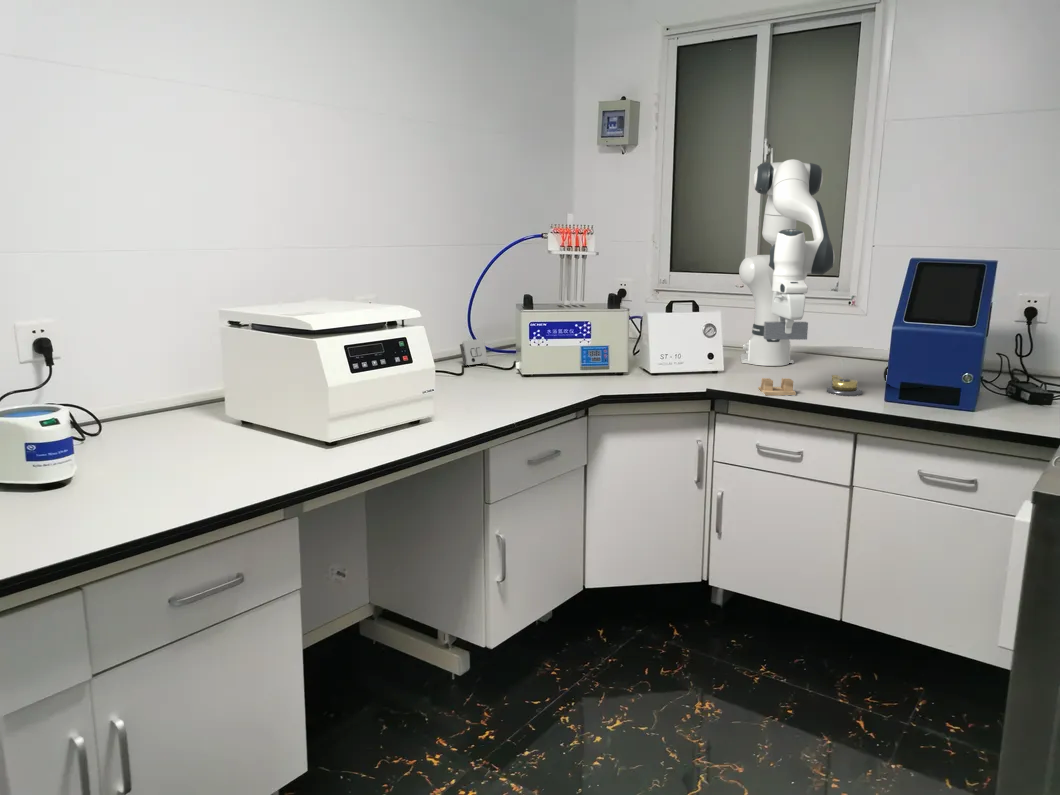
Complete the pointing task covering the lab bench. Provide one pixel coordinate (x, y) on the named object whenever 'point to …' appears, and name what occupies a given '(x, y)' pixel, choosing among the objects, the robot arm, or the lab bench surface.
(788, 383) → the rack
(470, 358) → the electrical switch
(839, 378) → the gold curved piece
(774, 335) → the bar
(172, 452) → the lab bench surface
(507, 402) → the lab bench surface
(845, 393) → the nut base
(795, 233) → the robot arm
